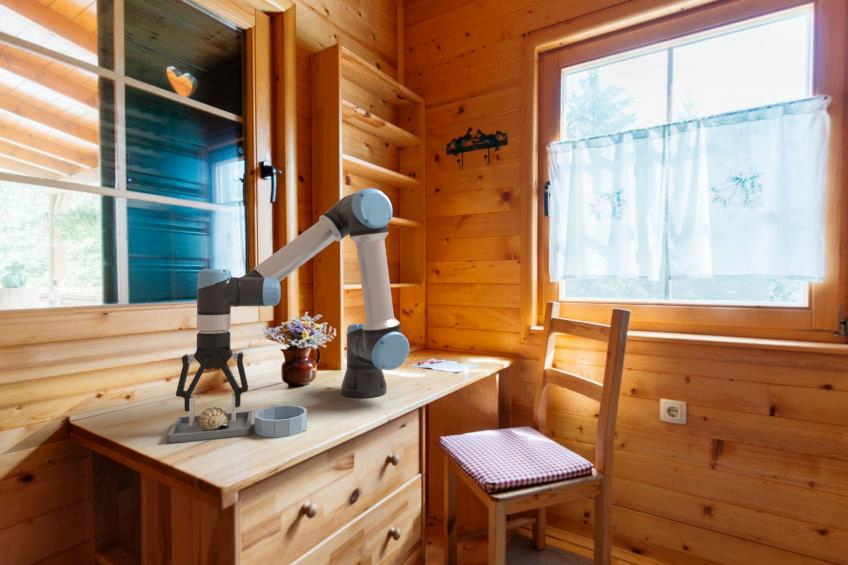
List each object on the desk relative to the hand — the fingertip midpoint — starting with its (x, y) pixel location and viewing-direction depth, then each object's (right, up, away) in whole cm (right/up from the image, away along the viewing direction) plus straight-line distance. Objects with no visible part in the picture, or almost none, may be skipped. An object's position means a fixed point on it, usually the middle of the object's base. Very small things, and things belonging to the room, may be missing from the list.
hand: (213, 421), depth 108 cm
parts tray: (0, -2, 0) cm, 2 cm away
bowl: (+16, -2, +2) cm, 17 cm away
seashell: (0, -2, 0) cm, 2 cm away
